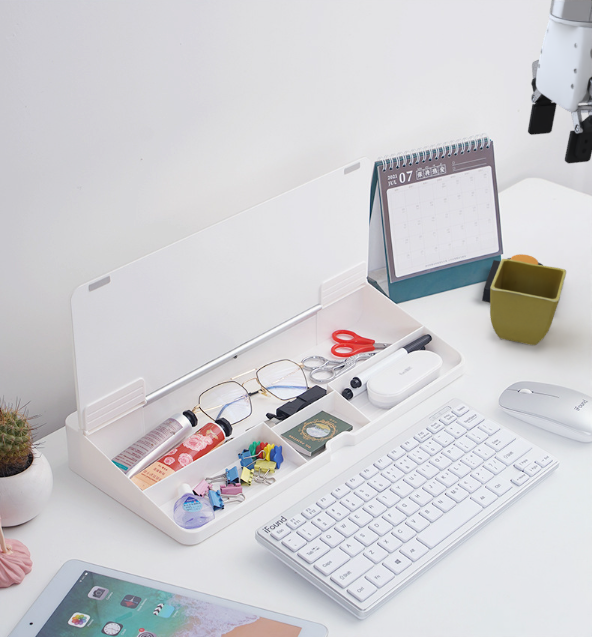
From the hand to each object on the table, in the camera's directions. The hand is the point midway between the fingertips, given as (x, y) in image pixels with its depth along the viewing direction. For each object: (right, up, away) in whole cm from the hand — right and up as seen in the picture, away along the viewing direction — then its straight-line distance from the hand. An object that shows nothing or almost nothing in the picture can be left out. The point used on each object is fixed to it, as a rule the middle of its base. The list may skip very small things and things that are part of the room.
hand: (557, 146), depth 102 cm
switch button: (0, -15, +16) cm, 22 cm away
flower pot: (-2, -24, +10) cm, 26 cm away
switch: (0, -18, +19) cm, 26 cm away
